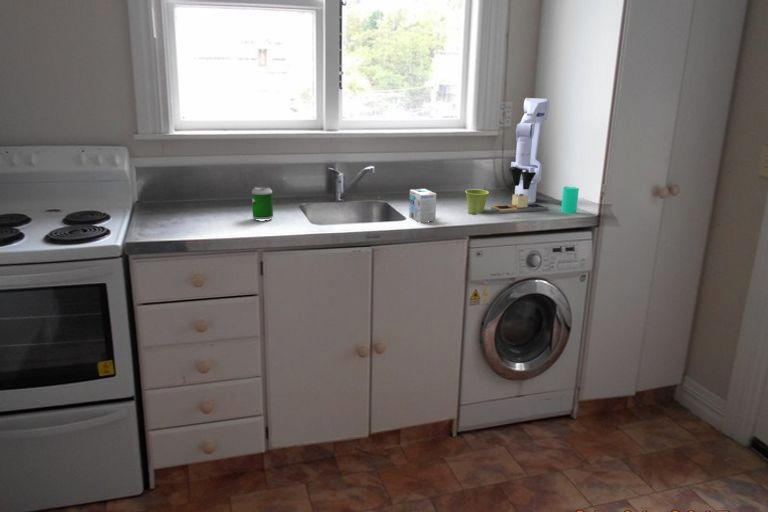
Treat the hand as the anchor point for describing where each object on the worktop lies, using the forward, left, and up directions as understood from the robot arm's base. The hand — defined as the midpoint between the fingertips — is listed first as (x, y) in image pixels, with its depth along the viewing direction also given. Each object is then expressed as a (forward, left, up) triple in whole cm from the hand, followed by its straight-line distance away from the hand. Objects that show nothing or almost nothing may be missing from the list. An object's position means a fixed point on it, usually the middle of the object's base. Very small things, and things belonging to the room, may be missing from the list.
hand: (520, 187), depth 264 cm
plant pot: (-3, -18, -10) cm, 21 cm away
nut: (0, 0, -9) cm, 9 cm away
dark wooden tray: (0, 0, -10) cm, 10 cm away
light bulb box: (+1, -43, -10) cm, 44 cm away
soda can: (-15, -101, -10) cm, 103 cm away
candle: (+8, +18, -10) cm, 22 cm away
